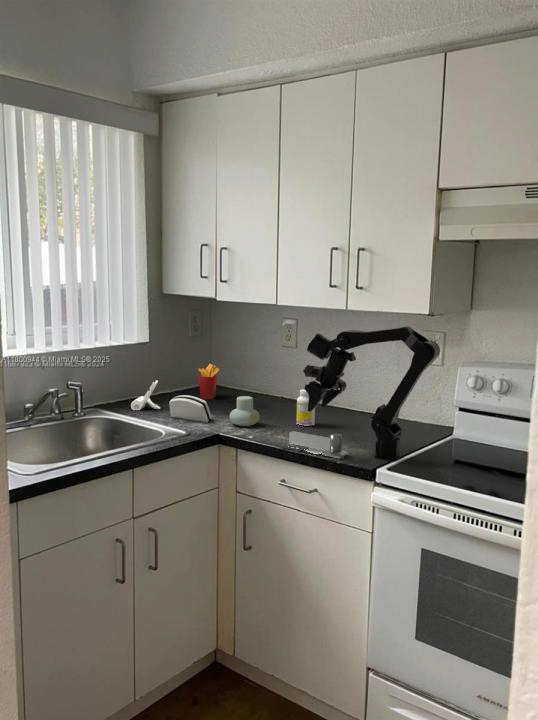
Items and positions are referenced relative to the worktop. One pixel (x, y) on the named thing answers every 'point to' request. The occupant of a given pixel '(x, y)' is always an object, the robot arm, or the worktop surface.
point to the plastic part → (145, 400)
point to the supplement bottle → (304, 410)
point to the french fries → (208, 382)
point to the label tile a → (315, 450)
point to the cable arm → (317, 441)
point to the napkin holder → (190, 408)
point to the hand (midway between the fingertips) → (315, 409)
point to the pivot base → (335, 454)
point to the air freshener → (244, 412)
